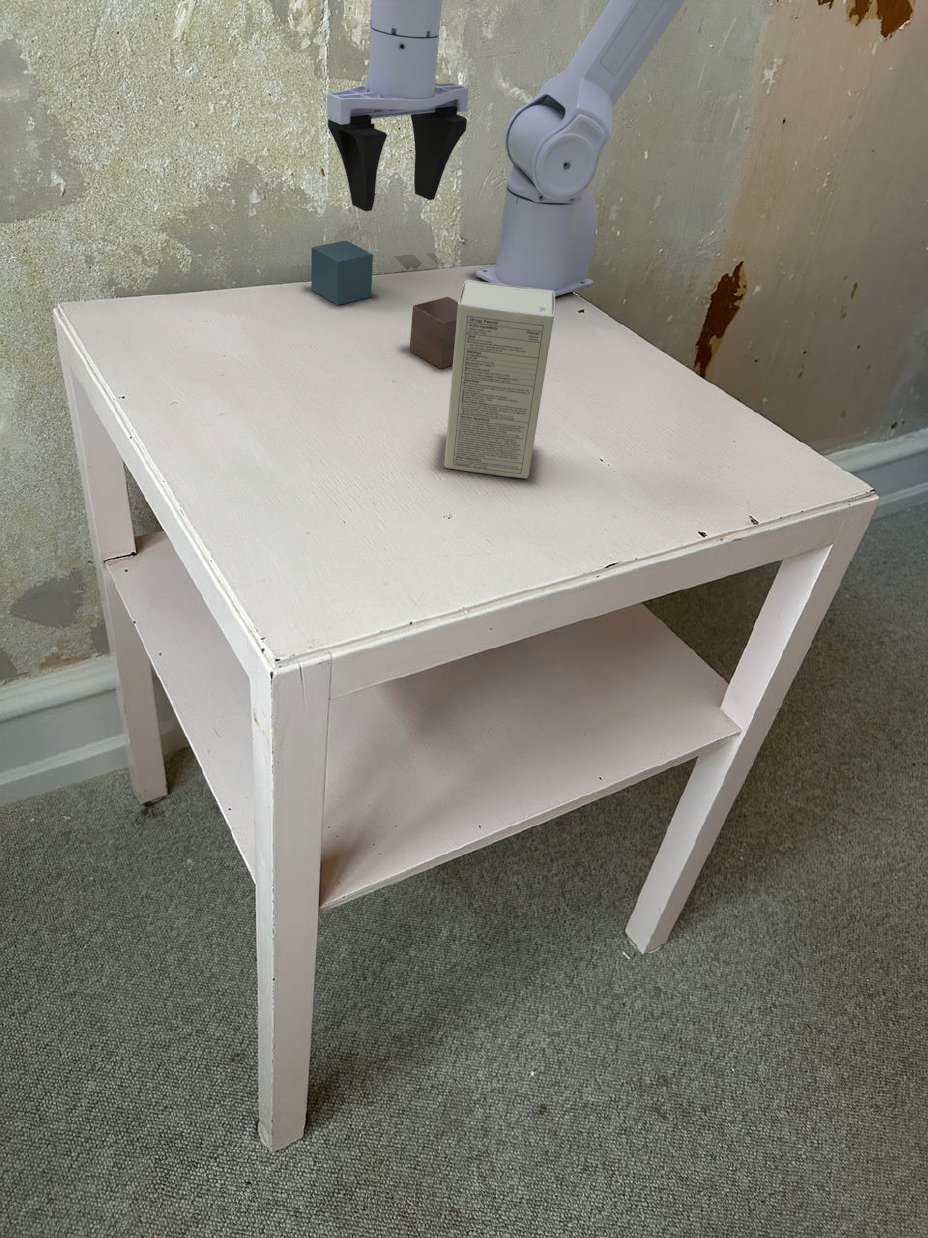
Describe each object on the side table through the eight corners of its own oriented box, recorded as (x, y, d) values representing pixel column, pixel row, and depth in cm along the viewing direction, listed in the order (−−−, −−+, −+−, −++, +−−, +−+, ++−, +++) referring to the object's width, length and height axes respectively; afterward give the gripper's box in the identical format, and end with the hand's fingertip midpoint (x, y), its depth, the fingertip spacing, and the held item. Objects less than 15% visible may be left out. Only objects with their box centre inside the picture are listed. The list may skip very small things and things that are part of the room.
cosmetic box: (530, 450, 70) (559, 289, 62) (528, 482, 67) (557, 316, 59) (446, 438, 70) (464, 276, 62) (439, 469, 67) (457, 301, 59)
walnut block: (443, 340, 83) (447, 296, 80) (474, 358, 81) (480, 313, 78) (409, 350, 81) (412, 305, 78) (440, 369, 79) (445, 323, 76)
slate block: (344, 282, 90) (346, 239, 88) (371, 297, 88) (373, 254, 86) (310, 290, 88) (311, 246, 86) (337, 305, 86) (338, 261, 84)
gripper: (436, 18, 84) (423, 179, 93) (304, 22, 76) (303, 198, 85) (491, 36, 81) (473, 201, 90) (360, 41, 72) (353, 223, 81)
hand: (394, 201), depth 87 cm, fingers open, 7 cm apart
